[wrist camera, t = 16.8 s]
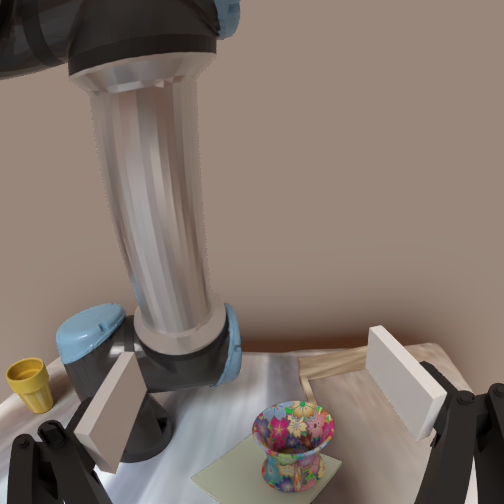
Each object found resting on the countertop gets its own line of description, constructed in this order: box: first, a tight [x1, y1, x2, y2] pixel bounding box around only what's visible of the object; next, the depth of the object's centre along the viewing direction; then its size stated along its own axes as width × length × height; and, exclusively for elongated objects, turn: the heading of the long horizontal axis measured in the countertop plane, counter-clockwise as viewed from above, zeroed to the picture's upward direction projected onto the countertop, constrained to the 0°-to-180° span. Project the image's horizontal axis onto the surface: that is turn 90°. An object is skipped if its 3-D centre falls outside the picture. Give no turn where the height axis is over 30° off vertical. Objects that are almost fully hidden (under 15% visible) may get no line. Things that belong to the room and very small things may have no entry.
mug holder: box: [299, 346, 368, 405], centre depth 44 cm, size 18×19×5 cm
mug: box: [252, 401, 334, 492], centre depth 27 cm, size 12×9×11 cm
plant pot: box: [6, 358, 54, 414], centre depth 40 cm, size 10×10×10 cm
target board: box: [191, 433, 342, 504], centre depth 29 cm, size 15×15×1 cm
